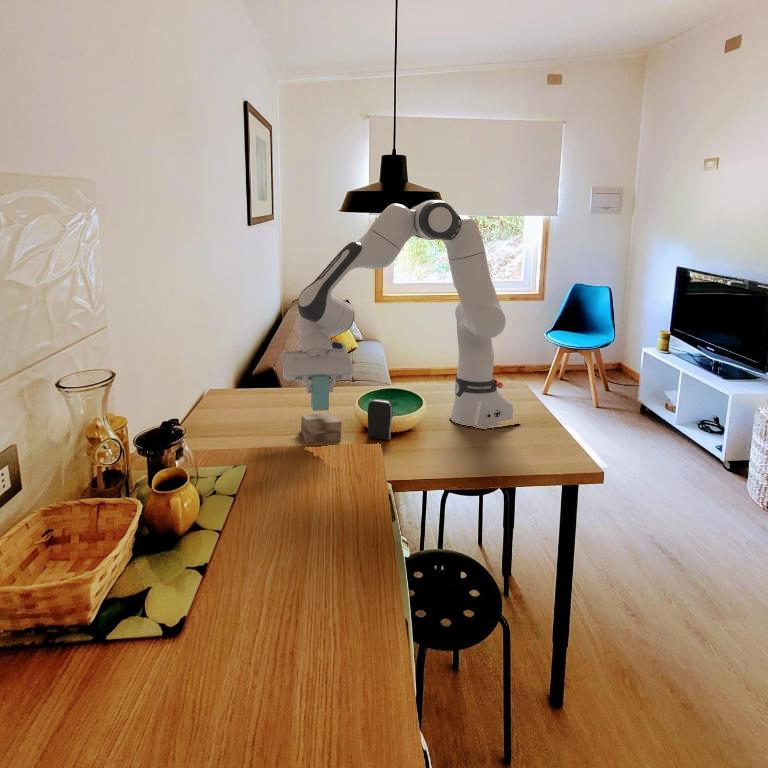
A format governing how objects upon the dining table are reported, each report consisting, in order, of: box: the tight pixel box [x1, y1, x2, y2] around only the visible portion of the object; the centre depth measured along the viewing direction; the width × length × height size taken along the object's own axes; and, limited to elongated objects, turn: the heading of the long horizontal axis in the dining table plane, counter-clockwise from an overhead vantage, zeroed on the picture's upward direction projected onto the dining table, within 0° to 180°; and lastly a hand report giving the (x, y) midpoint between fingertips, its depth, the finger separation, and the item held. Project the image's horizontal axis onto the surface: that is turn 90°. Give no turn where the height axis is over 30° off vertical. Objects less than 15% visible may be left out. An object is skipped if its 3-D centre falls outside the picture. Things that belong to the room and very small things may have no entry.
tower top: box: [300, 412, 342, 435], centre depth 175 cm, size 9×9×3 cm
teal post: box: [310, 376, 330, 412], centre depth 173 cm, size 4×4×9 cm
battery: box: [367, 398, 394, 441], centre depth 175 cm, size 7×4×11 cm, turn 73°
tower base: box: [300, 424, 342, 444], centre depth 176 cm, size 10×10×3 cm
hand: (320, 391), depth 172 cm, fingers closed on teal post, 4 cm apart
